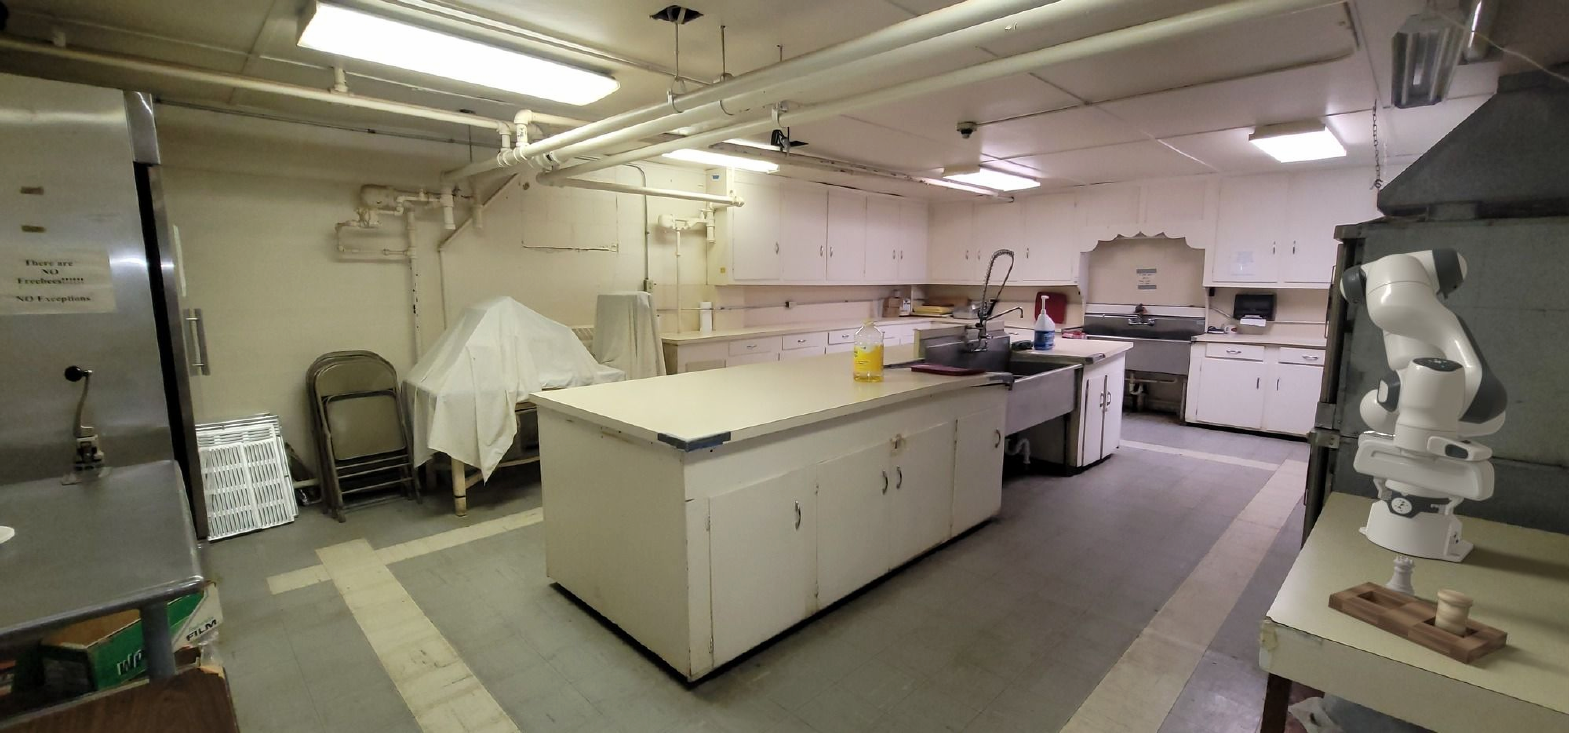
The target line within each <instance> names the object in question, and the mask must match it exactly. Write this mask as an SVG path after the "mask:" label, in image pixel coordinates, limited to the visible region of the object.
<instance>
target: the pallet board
mask: <svg viewBox="0 0 1569 733" xmlns="http://www.w3.org/2000/svg"><path fill="white" fill-rule="evenodd" d="M1436 597H1437V598H1438V603H1437V606H1436V605H1434V604H1431V603H1428V602H1425V601H1423V600H1420V599H1418V598H1416V597H1414V598H1412V597H1409V596H1407V595H1404V594H1401V593H1399V592H1396V591H1393V590H1390V589H1388V588H1387V587H1386V586H1382V585H1379V584H1376V583H1374V582H1371V581H1367V582H1365V583H1362V584H1359V585H1354V586H1353V587H1349V588H1347V589H1346V588H1345V589H1343V590H1340V591H1338V592H1334V593H1332V594H1331V593H1330V595H1329V597H1328V599H1329V600H1328V606H1327V607H1328V608H1331V609H1333V610H1336V611H1337V612H1340V613H1343V614H1345V615H1348V616H1350V617H1352V618H1355V619H1357V620H1359V621H1361V622H1364V623H1366V624H1369V625H1370V626H1371V625H1372V626H1373V627H1376V628H1378V629H1381V630H1383V631H1386V632H1388V633H1391V634H1393V635H1396V636H1398V637H1399V638H1403V639H1405V640H1407V641H1410V642H1412V643H1414V644H1416V645H1419V646H1422V647H1424V648H1426V649H1429V650H1431V651H1434V652H1436V653H1439V654H1441V655H1443V656H1446V657H1447V658H1450V659H1453V660H1455V661H1458V662H1460V663H1462V664H1465V665H1468V664H1470V663H1473V662H1475V661H1476V660H1478V659H1480V658H1482V657H1484V656H1485V657H1486V656H1487V655H1489V654H1491V653H1493V652H1495V651H1497V650H1500V649H1502V648H1503V647H1505V646H1506V644H1507V640H1508V639H1507V638H1508V635H1509V632H1507V631H1504V630H1502V629H1498V628H1496V627H1493V626H1491V625H1488V624H1486V623H1483V622H1480V621H1477V620H1475V619H1472V618H1469V613H1470V608H1471V607H1473V605H1474V600H1475V599H1474V598H1473V597H1471V596H1470V595H1468V594H1466V593H1463V592H1460V591H1458V590H1453V589H1448V588H1447V589H1445V588H1442V589H1438V592H1437V596H1436Z"/></svg>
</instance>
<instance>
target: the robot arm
mask: <svg viewBox="0 0 1569 733" xmlns="http://www.w3.org/2000/svg"><path fill="white" fill-rule="evenodd" d="M1467 265H1468V264H1467V263H1466V260H1465V259H1464V257H1463V256H1462V255H1461V254H1460V253H1459V252H1458V250H1456V249H1455V248H1453V247H1435V248H1433V247H1432V248H1431V249H1430V250H1421V251H1413V252H1407V253H1396V254H1390V255H1386V256H1383V257H1381V258H1379V259H1377V260H1374V261H1371V262H1368V263H1364V264H1357V265H1355V266H1352V267H1349V268H1347V269H1345V271H1344V272H1343V273H1342V274H1341V279H1340V282H1339V290H1340V292H1341V294H1342V296H1343V298H1344V299H1345V300H1346V301H1347V303H1348V304H1351V305H1353V306H1357V307H1366V308H1367V312H1368V315H1369V318H1370V320H1371V321H1372V322H1373V323H1374V325H1375V326H1376V327H1378V328H1379V329H1381V330H1382V334H1383V342H1384V348H1385V352H1386V358H1387V364H1388V366H1389V368H1390V369H1391V370H1392V371H1390V372H1388V373H1386V374H1385V375H1383V376H1382V377H1381V378H1379V380H1378V387H1377V389H1373V390H1372V389H1371V390H1370V391H1369V392H1367V393H1366V394H1365V395H1364V396H1363V398H1362V400H1361V401H1360V405H1359V413H1360V416H1361V418H1362V421H1364V423H1365V424H1366V425H1367V426H1368V427H1369V428H1371V429H1373V430H1368V431H1363V432H1362V433H1360V435H1359V436H1358V440H1357V445H1358V449H1357V451H1356V454H1355V457H1354V461H1353V468H1354V470H1355V471H1356V472H1357V473H1360V474H1363V475H1364V474H1365V475H1368V476H1372V477H1373V483H1374V485H1375V488H1376V489H1377V490H1378V494H1377V498H1378V499H1380V500H1378V501H1376V502H1374V503H1372V505H1371V508H1370V512H1369V517H1368V519H1367V525H1366V526H1361V527H1359V530H1358V531H1359V533H1361V534H1362V535H1364V536H1365V537H1367V539H1368V540H1369V541H1371V542H1372V543H1374V544H1375V545H1377V546H1380V547H1382V548H1385V549H1388V550H1391V551H1394V552H1398V553H1401V554H1406V555H1409V556H1415V557H1419V558H1420V557H1421V558H1427V559H1435V560H1436V559H1438V560H1443V561H1450V562H1455V563H1462V561H1463V559H1465V558H1466V557H1467V555H1468V554H1469V553H1470V552H1471V551H1472V550H1473V549H1474V544H1473V543H1472V542H1470V541H1467V540H1465V539H1463V538H1461V536H1462V531H1463V530H1462V529H1463V523H1462V521H1460V519H1458V518H1457V516H1456V515H1455V514H1454V508H1456V507H1457V506H1458V505H1459V504H1461V503H1462V502H1463V501H1464V499H1468V500H1473V501H1477V502H1479V501H1483V500H1487V499H1489V498H1492V496H1493V495H1494V488H1495V469H1494V467H1493V464H1492V463H1491V462H1490V461H1488V459H1490V458H1491V457H1492V455H1493V449H1492V448H1490V447H1489V446H1487V445H1484V444H1482V443H1479V442H1477V441H1474V440H1472V439H1469V438H1471V437H1479V436H1488V435H1492V434H1494V433H1496V432H1498V431H1499V430H1500V429H1501V428H1502V426H1503V425H1504V423H1505V421H1506V408H1507V405H1508V393H1507V389H1506V387H1505V386H1504V384H1503V383H1502V382H1501V380H1500V379H1499V378H1498V377H1497V375H1496V374H1495V373H1494V372H1493V370H1492V369H1491V367H1490V366H1489V363H1488V362H1487V359H1486V358H1485V356H1484V353H1483V352H1482V350H1481V348H1480V346H1479V345H1478V342H1477V340H1476V338H1475V336H1474V335H1473V333H1472V331H1471V330H1470V328H1469V326H1468V324H1467V322H1465V320H1464V319H1463V317H1462V316H1460V315H1459V314H1457V313H1456V312H1453V311H1451V310H1449V309H1448V308H1447V307H1445V305H1443V304H1442V303H1441V302H1440V301H1439V300H1438V298H1437V297H1438V296H1439V295H1441V294H1442V295H1443V298H1444V299H1443V300H1445V301H1446V300H1448V299H1449V295H1451V294H1452V293H1454V292H1456V291H1457V290H1459V288H1460V287H1461V286H1462V285H1463V283H1464V282H1465V278H1466V277H1467V273H1468V266H1467ZM1468 437H1469V438H1468Z"/></svg>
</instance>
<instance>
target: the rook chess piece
mask: <svg viewBox="0 0 1569 733" xmlns="http://www.w3.org/2000/svg"><path fill="white" fill-rule="evenodd" d="M1414 562H1415V561H1414V559H1411V558H1410V557H1406V558H1405V557H1404V556H1403V555H1397V556H1396V558H1395V559H1393V563H1394V564H1395V566H1394V567H1393V569H1394V572H1393V575H1392V577H1391V579H1390V580H1389V582H1387V583H1386V584H1385V588H1388V589H1390V590H1393V591H1396V592H1399V593H1401V594H1404V595H1407V596H1409V597H1412V598H1415V589H1414V588H1413V585H1412V583H1411V580H1412V579H1411V576H1412V574H1413V570H1412V569H1414V568H1415V567H1416V564H1415V563H1414Z"/></svg>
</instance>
